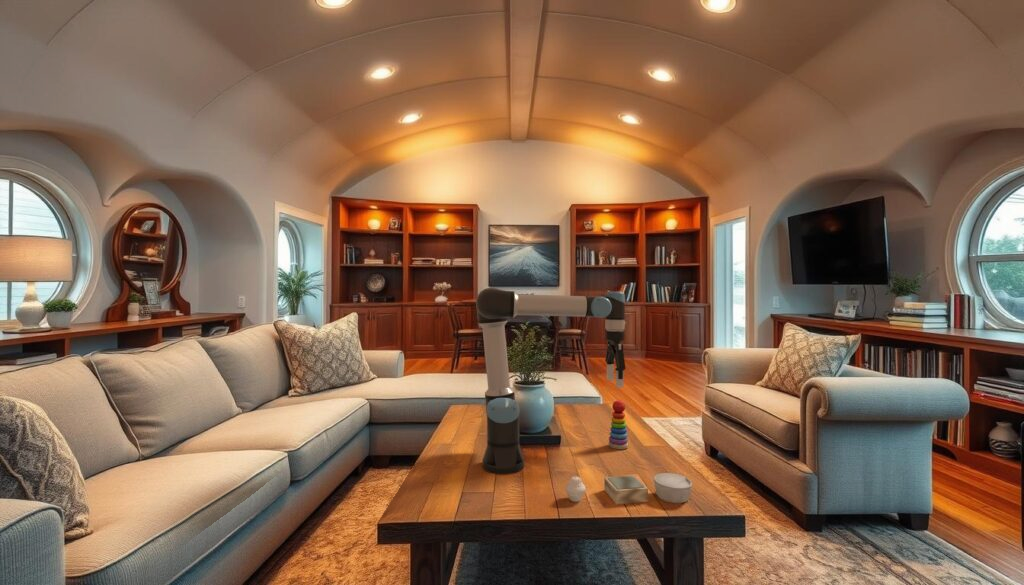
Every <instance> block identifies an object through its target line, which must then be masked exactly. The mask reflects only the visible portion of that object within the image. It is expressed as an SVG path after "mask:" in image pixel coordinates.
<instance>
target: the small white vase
mask: <svg viewBox="0 0 1024 585" xmlns="http://www.w3.org/2000/svg"><path fill="white" fill-rule="evenodd" d="M586 490H587V489H586V486H585V484H584V483H583V481H582V478H580V476H572V477H570V479H569V481H568V482H567V484H566V485H565V493H566V494H567V496H568V498H569V500H570V501H571V502H575V503H577V502H580V501H582V499H583V497H584V496H585V493H586Z"/></svg>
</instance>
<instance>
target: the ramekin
mask: <svg viewBox="0 0 1024 585" xmlns="http://www.w3.org/2000/svg"><path fill="white" fill-rule="evenodd" d="M653 482H654V488H655V494H656V495H657V497H658V498H659V499H660V500H662V501H664V502H666V501H667V503H670V502H671V503H672V504H684V503H686V502H688V500H689V499H690V496H691V492H692V491H691V490H692V487H693V482H692V480H691V479H689V478H688V477H686V476H684V475H681V474H677V473H669V472H662V473H657V474H656V475H654V477H653ZM683 502H684V503H683Z"/></svg>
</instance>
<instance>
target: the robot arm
mask: <svg viewBox="0 0 1024 585" xmlns="http://www.w3.org/2000/svg"><path fill="white" fill-rule="evenodd" d="M625 296H626V295H625V293H624V291H606V292H605V295H603V296H594V295H593V296H591V295H587V296H586V295H581V296H580V295H556V294H555V295H553V294H527V293H523V294H522V293H521V294H520V293H517V292H516V291H514V290H512V291H511V290H504V289H503V290H502V289H498V288H496V287H487V288H484V289H482V290H481V291H480V292H479V293H478V295H477V297H476V299H475V307H476V316H477V325H479V326H480V327H481V328H482V335H483V336H482V337H483V345H484V346H483V347H484V359H485V367H486V377H487V378H486V380H487V390H486V391H485V392H484V401H485V402H484V403H485V413H486V448H485V451H484V454H483V458H482V461H481V464H482V465H481V466H482V469H483V470H484V471H486V472H488V473H490V474H496V475H508V474H514V473H518V472H520V471H523V470H524V468H525V458H524V456H523V453H522V449H521V446H520V412H521V410H520V405H519V403H518V401H516V397H515V396H516V395H515V390H514V388H513V387H511V382H510V373H509V371H510V370H509V360H508V352H507V340H506V330H505V329H506V328H505V326H506V324H507V323H508V320H509V319H508V318H510V319H511V318H513V319H515V317H516V316H546V317H547V316H549V317H550V316H551V317H584V318H585V317H586V318H599V319H600V318H601V319H603V318H605V323H604V324H605V325H604V326H605V327H604V328H605V330H606V331H605V337H604V339H605V340H606V341H607V346H606V354H605V358H604V359H605V360H604V361H605V362H606V363H605V364H606V381H607V382H608V381H615V387H616V388H624V374H625V372H624V371H625V370H626V360H625V355H624V354H625V353H624V345H623V343H621V342H623V341H625V339H626V338H625V336H626V332H625V331H624V330H625V327H626V324H627V321H625V320H626V318H625V317H626V297H625ZM615 367H616V368H615ZM614 368H615V369H614ZM614 370H615V371H614Z"/></svg>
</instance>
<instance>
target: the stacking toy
mask: <svg viewBox="0 0 1024 585" xmlns="http://www.w3.org/2000/svg"><path fill="white" fill-rule="evenodd" d="M612 410H613V411H614V412H612V417H611V419H610V420H611V422H610V425H611V426H610V432H609V437H608V441H609V442H608V446H609V448H610V449H611V448H612V449H615V450H625V449H627V448H629V443H628V433H627V431H628V429H627V424H626V418H625V417H626V414H625V412H624V411H625V410H626V405H625V402H624V401H622V400H618V399H616V400H615V401H614V402H612Z"/></svg>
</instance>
